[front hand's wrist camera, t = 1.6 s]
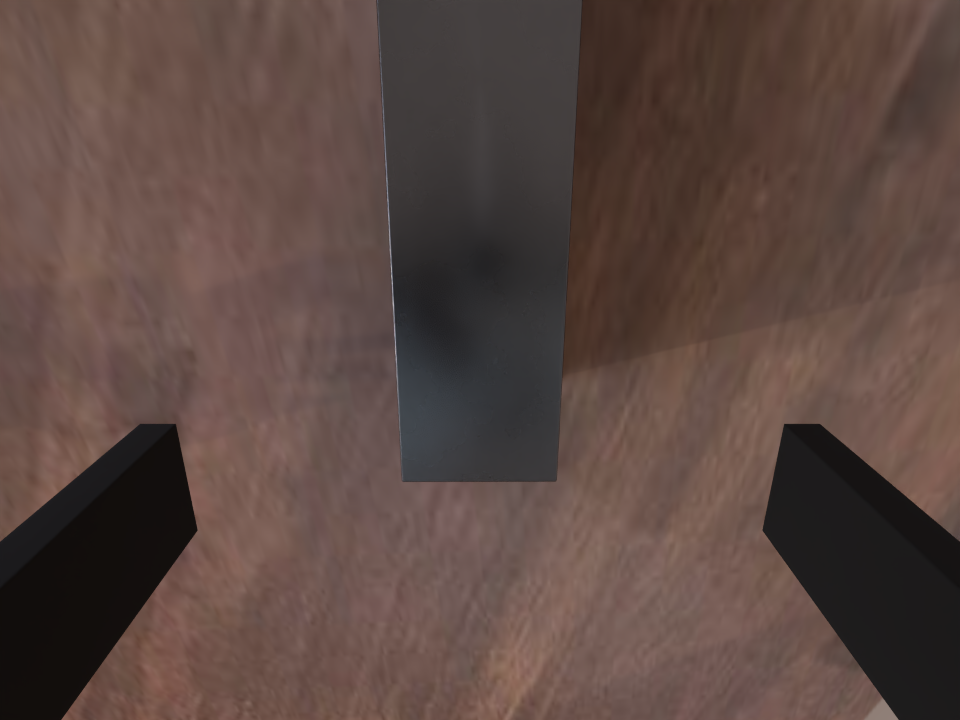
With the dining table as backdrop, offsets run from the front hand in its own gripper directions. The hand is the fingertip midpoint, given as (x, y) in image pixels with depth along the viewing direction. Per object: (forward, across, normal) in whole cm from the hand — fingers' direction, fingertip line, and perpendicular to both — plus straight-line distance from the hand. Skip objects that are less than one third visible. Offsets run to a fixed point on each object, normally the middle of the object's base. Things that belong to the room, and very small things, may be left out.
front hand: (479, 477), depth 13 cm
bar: (+15, 0, -8) cm, 17 cm away
